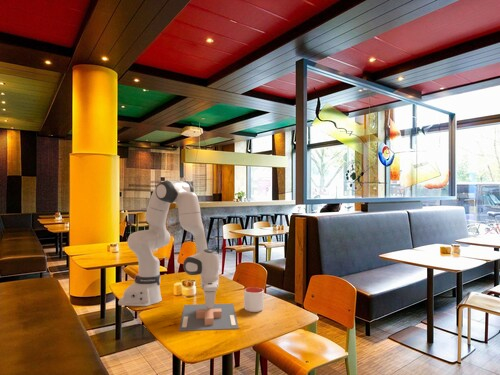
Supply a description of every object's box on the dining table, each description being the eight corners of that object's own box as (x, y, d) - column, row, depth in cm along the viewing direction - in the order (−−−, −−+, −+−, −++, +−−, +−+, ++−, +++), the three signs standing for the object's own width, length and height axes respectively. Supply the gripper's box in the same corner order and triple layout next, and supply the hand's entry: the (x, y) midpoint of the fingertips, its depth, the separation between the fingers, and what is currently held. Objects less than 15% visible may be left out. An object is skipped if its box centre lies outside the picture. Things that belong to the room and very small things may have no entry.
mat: (178, 331, 138) (178, 329, 138) (184, 305, 170) (184, 304, 170) (238, 328, 142) (238, 327, 142) (233, 303, 173) (233, 302, 173)
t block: (195, 325, 144) (195, 318, 144) (196, 315, 156) (196, 309, 156) (222, 324, 145) (222, 317, 145) (221, 314, 157) (221, 308, 157)
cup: (261, 313, 160) (262, 293, 160) (242, 312, 162) (242, 292, 162) (264, 306, 170) (265, 288, 170) (246, 305, 172) (246, 286, 172)
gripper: (203, 277, 168) (203, 303, 168) (203, 288, 148) (202, 319, 148) (215, 277, 169) (215, 303, 169) (217, 288, 149) (216, 318, 148)
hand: (209, 310), depth 158 cm, fingers closed
